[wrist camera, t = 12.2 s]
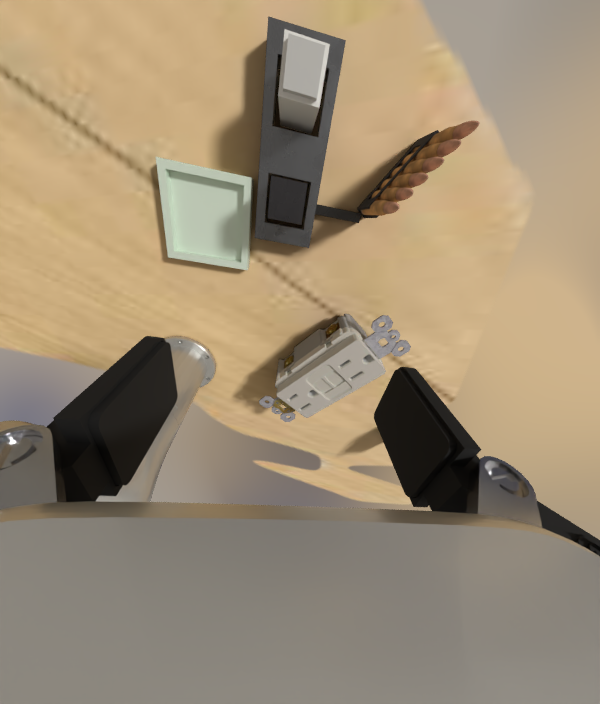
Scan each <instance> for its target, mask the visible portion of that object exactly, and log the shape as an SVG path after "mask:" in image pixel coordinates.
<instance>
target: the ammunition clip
mask: <svg viewBox="0 0 600 704" xmlns="http://www.w3.org/2000/svg"><path fill="white" fill-rule="evenodd" d="M478 125H479V122H478V121H468V122H465V123H462V124H460V125H457V126H454V127H449V128H447V129H445V130H443V131H441V132H439V131H438V130H437V131H435V132H433V133H431V134H429V135H427V136H424V137H422V138H420V139H418V140H417V141H416V142H415V143H414V145H413V146H412V147H411V148H410V149H409V150H408V151H407V152H406V154H405V155H404V156H403V157H402V158H401V159H400V160H399V162H398V163H397V164H396V165H395V166H394V167H393V168H392V169H391V171H390V172H389V173H388V174H387V175H386V176H385V177H384V178H383V180H382V181H381V182H380V183H379V184H378V185H377V186H376V188H375V189H374V190H373V191H372V192H371V193H370V194H369V195H368V197H367V198H366V199H365V200H364V201H363V202H362V203H361V204H360V206H359V207H358V208H357V210H358V211H359V212H360V213H361V215H362V216H363V217H364V218H377V217H378V216H379V215H381V216H382V215H385V214H390V213H394V212H396V211H397V210H398V209H399V204H397V203H396V202H398V201H401V200H405V199H408V198H409V197H411V196H412V195H413V190H412V189H410V188H412V187H415V186H418V185H421V184H422V183H424V182H425V181H426V180H427V179H428V175H427V174H426V173H428V172H430V171H433V170H435V169H436V168H438V167H439V166H440V165H442V163H443V162H444V159H443V158H442V157H444V156H446V155H448V154H450V153H451V152H453V151H454V150H456V149H457V148H458V147H459V146H460V144H461V141H460V139H462V138H464V137H466V136H468V135H469V134H471V133H472V132H473V131H474V130H475V129H476V128H477V127H478Z"/></svg>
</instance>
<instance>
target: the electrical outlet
mask: <svg viewBox="0 0 600 704" xmlns="http://www.w3.org/2000/svg"><path fill="white" fill-rule="evenodd" d="M380 322H385V325H384V326H383V327H379V326H378V325H379V323H380ZM392 324H393V322H392V320H391V319H390V318H389V316H385V315H382V316H380V317H379V318H377V319H376V320H375V321H373V323H372V326H371V327H372V329H373V330H374V331H375V332H374V333H373V334H371V335H370V336H368V337H367V335H366V333H365V332H364V330H363V329H362V328H361V326H360V325H358V323H357V322H356V321H355V320H354V319H353V317H352V316H350V315H348V314H344V316H341V317H338V320H337V321H335V322H334V323H333V324H331V325H330V326H329V327H327V328H326V329H325V330H322V329H318V330H317V331H316V332H314V333H313V334H312V335H310V336H309V337H308V338H306V339H305V340H304V341H302V342H301V343H300V344H298V345H297V346H296V347H294V353H292V354H291V355H290V356H288V357H287V358H286V359H284V360H281V359H279V362H278V369H277V377H276V384H275V387H276V388H277V394H276V395H277V398H275V399H273V398H272V397H271V396H264V397H263V398H261V399H260V400H259V402H260V405H262V406H263V407H265V408H270V407H271V406H273V407H272V412H273V413H275V414H280V413H282V414H281V419H282V420H283V421H285V422H290V421H292V420H293V419H295V414H294V413H292V412H294V411H295V410H296V411H297V412H299V413H300V414H301V415H303V416H304V417H306V418H308V417H310V416H312V415H314V414H315V413H317V412H319V411H321V410H322V409H324V408H326V407H327V406H329V405H331V404H333V403H334V402H336V401H338V400H340V399H341V398H343V397H345V396H347V395H348V394H350V393H352V392H354V391H355V390H357V389H359V388H360V387H362V386H364V385H366V384H367V383H369V382H371V381H373V380H374V379H376V378H378V377H380V376H381V375H383V374H385V372H386V371H385V368H384V366H383V363H382V361H381V359H380V358H382V357H384V356H385V355H387V354H389V353H390V352H392V354H393V355H394V356H402V355H403V354H405V353H407V352H408V351H409V350H410V347H411V346H410V345H409V343H408V342H407V341H406V340H400V341H398V342H397V343H396V342H395V341H397V340H399V337H400V333H399V332H398V331H397V330H391V331H389V332H387V330H389V329H390V328H391V327H392ZM392 335H395V337H394V338H391V337H392ZM382 338H385V339H386V340H387V341H388V344H387V345H385V346H382V347H381V346H380V344H379V343H378V341H379V340H380V339H382ZM399 347H404V348H403V350H401V351H398V348H399ZM265 400H268V401H269V403H265ZM282 403H284V404H283V405H284V406H286V407H287V408H284V409H283V408H282V407H280V406H279V405H280V404H282ZM275 410H278V411H275ZM286 416H290V418H287V417H286Z"/></svg>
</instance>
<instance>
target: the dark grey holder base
mask: <svg viewBox="0 0 600 704" xmlns="http://www.w3.org/2000/svg"><path fill="white" fill-rule="evenodd" d="M285 29H286V30H289V31H292V32H295V33H298V34H301V35H304V36H307V37H310V38H313V39H316V40H319V41H322V42H325V43H328V44H330V47H329V53H328V59H327V65H326V71H325V77H324V82H325V89H324V95H323V101H322V108H321V114H320V120H319V127H318V133H317V137H315V136H311V135H307V134H303V133H299V132H295V131H291V130H287V129H283V128H279V127H274V121H275V109H276V97H277V85H278V72H279V69H281V61H282V51H283V40H284V30H285ZM345 41H346V40H343V39H339V38H336V37H333V36H330V35H326V34H323V33H320V32H317V31H314V30H310V29H307V28H304V27H301V26H297V25H294V24H291V23H288V22H284V21H281V20H278V19H275V18H272V17H268V32H267V48H266V64H265V81H264V97H263V113H262V130H261V146H260V162H259V179H258V195H257V211H256V228H255V238H258V239H263V240H269V241H274V242H280V243H285V244H291V245H296V246H302V247H307V248H309V245H310V239H311V233H312V228H313V222H314V216H315V214H317V215H322V216H327V217H332V218H337V219H342V220H347V221H352V222H357V223H359V221H360V217H361V214H360V213H355V212H351V211H346V210H341V209H336V208H332V207H327V206H322V205H317V200H318V194H319V188H320V183H321V177H322V171H323V166H324V160H325V154H326V149H327V143H328V137H329V132H330V126H331V120H332V115H333V109H334V103H335V98H336V92H337V86H338V81H339V75H340V70H341V64H342V58H343V53H344V47H345ZM270 176H271V183H270V195H269V207H268V194H269V182H270ZM307 184H309V190H308V197H307V203H306V210H305V216H304V222H303V228H298V227H292V226H287V225H282V224H277V223H272V222H267V221H266V219H267V207H268V218H269V219H275V220H280V221H285V222H290V223H295V224H300V225H301V223H302V217H303V210H304V204H305V197H306V191H307Z"/></svg>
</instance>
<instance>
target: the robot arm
mask: <svg viewBox="0 0 600 704" xmlns="http://www.w3.org/2000/svg"><path fill="white" fill-rule="evenodd" d="M215 371H216V363H215V359H214V357H213V355H212V354H211V353H210V351H209V350H208V349H207V348H206V347H205V346H203V345H202V344H201V343H199V342H197V341H195V340H193V339H190V338H187V337H181V336H172V337H167V338H159V337H151V336H146V337H144V338H143V339H142V340H141V341H140V342H139V343H137V344H136V345H135V346H134V347H133V348H132V349H131V350H130V351H128V352H127V353H126V354H125V355H124V356H123V357H122V358H121V359H119V360H118V361H117V362H116V363H115V364H114V365H113V366H111V367H110V368H109V369H108V370H107V371H106V372H105V373H104V374H103V375H101V376H100V377H99V378H98V379H97V380H96V381H95V382H94V383H92V384H91V385H90V386H89V387H88V388H87V389H86V390H85V391H83V392H82V393H81V394H80V395H79V396H78V397H76V398H75V399H74V400H73V401H72V402H71V403H70V404H69V405H67V406H66V407H65V408H64V409H63V410H62V411H61V412H60V413H58V414H57V415H56V416H55V417H54V421H53V422H52V423H51V424H49V425H48V426H47V427H45V426H41V425H34V424H31V423H27V422H22V421H3V422H0V704H600V540H598V539H597V538H595V537H593V536H592V535H591V534H589V533H587V532H586V531H584V530H583V529H581V528H579V527H578V526H576V525H575V524H573V523H571V522H570V521H568V520H567V519H565V518H564V517H562V516H560V515H559V514H557V513H556V512H554V511H552V510H551V509H549V508H548V507H546V506H544V505H543V504H541V503H540V502H538V501H537V499H536V494H535V492H534V489H533V487H532V486H531V484H530V483H529V481H528V480H527V479H526V478H525V477H524V476H523V475H522V474H521V473H520V472H519V471H518V470H516V469H515V468H514V467H512V466H511V465H509V464H508V463H506V462H504V461H502V460H500V459H498V458H495V457H491V456H484V457H483V458H481V459H479V458H478V457H477V453H478V452H479V451H480V450H481V449H480V448H479V447H478V445H477V444H476V443H475V441H474V440H473V439H472V438H471V436H470V435H469V434H468V433H467V432H466V430H465V429H464V428H463V426H462V425H461V424H460V423H459V422H458V420H457V419H456V418H455V417H454V415H453V414H452V413H451V412H450V410H449V409H448V408H447V407H446V405H445V404H444V403H443V402H442V401H441V399H440V398H439V397H438V396H437V394H436V393H435V392H434V391H433V389H432V388H431V387H430V386H429V384H428V383H427V382H426V381H425V380H424V378H423V377H422V376H421V375H420V373H419V372H418V371H417V370H416V369H414V368H408V367H400V368H399V369H398V370H395V372H394V374H393V376H392V378H391V380H390V382H389V384H388V386H387V388H386V390H385V392H384V394H383V396H382V398H381V400H380V402H379V405H378V407H377V409H376V411H375V413H374V420H375V422H376V425H377V427H378V430H379V432H380V434H381V437H382V439H383V442H384V444H385V447H386V449H387V451H388V454H389V456H390V459H391V461H392V463H393V466H394V468H395V470H396V473H397V475H398V478H399V480H400V483H401V485H402V488H403V490H404V492H405V494H406V495H407V496H408V497H410V500H411V502H412V504H413V506H414V507H428V505H429V506H430V508H431V510H432V511H414V510H413V511H412V510H388V509H362V508H361V509H360V508H333V507H303V506H274V505H242V504H206V503H203V504H202V503H169V502H167V503H166V502H150V501H151V498H152V494H153V490H154V487H155V484H156V481H157V477H158V474H159V471H160V469H161V466H162V463H163V461H164V459H165V456H166V454H167V452H168V450H169V448H170V445H171V443H172V441H173V439H174V437H175V435H176V433H177V431H178V429H179V427H180V425H181V423H182V421H183V419H184V417H185V415H186V413H187V411H188V409H189V407H190V405H191V403H192V402H193V399H194V397H195V395H196V393H197V391H198V389H199V388H200V387H203V386H204V385H206V384H208V383H209V382H210V381H211V380H212V378H213V376H214V374H215Z"/></svg>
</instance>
